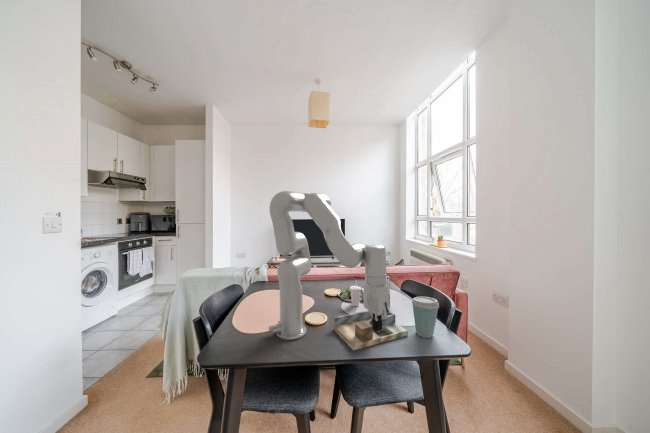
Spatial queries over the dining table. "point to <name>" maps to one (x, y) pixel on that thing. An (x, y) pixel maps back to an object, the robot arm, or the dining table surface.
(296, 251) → the robot arm
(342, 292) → the salad plate
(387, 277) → the candy bar box
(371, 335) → the walnut block
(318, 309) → the dining table surface
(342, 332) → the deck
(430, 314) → the disposable coffee cup
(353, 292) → the smoothie
